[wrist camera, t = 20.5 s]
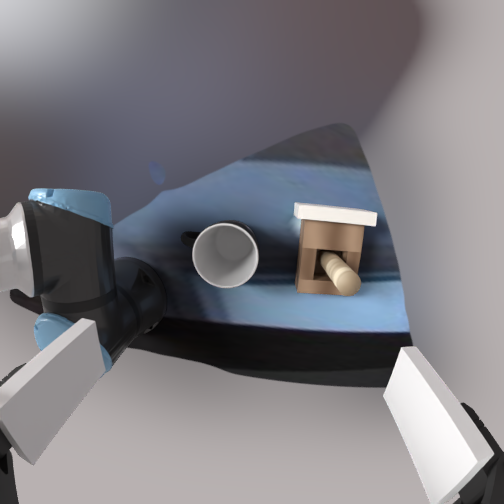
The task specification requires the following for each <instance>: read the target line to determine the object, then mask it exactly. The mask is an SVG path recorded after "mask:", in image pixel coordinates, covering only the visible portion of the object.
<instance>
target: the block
mask: <svg viewBox="0 0 504 504" xmlns="http://www.w3.org/2000/svg"><path fill="white" fill-rule="evenodd" d="M363 234H364V225H359V224H350V223H340V222H330V221H319V220H309V219H301V230H300V240H299V250H298V259H297V269H296V278H295V285H296V289H297V293H313V294H331V295H342V294H341V293H340V292H339V290H338V289H337V287H336V286H335V284H334V283H333V281H332V280H331V279H330V277H329V276H328V274H327V273H326V271H325V270H324V268H323V267H322V266H321V264H320V263H319V261H318V258H317V257H318V253H319V252H320V250H322V249H326V250H332V251H334V252H335V253H336V254H337V255H338V256H339V257H340V258H341V259H342V260H343V261H344V262H345V263H346V264H347V265H348V266H349V267H350V268H351V269H352V270H353V271H354V272H355V273H356V274H358V268H359V262H360V256H361V249H362V241H363ZM352 296H354V295H352Z"/></svg>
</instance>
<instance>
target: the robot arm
mask: <svg viewBox="0 0 504 504" xmlns="http://www.w3.org/2000/svg"><path fill="white" fill-rule="evenodd" d="M29 200H30V201H28V202H19V203H17V204H16V205H15V207H14V208H13V209H12V211H11V212H10V214H9V215H8V216H7V217H4V218H0V292H3V291H7V290H11V289H15V288H16V289H19V290H21V291H22V292H24V293H25V294H26V295H28V296H29V297H34V296H38V295H41V300H42V305H43V309H44V313H43V314H41V315H40V316H39V317H38V319H37V321H36V324H35V326H34V334H35V339H36V342H37V344H38V346H39V348H40V350H41V352H40V353H39V354H37V355H36V356H35V357H34V358H33V359H32V360H30V361H29V362H28V363H25V364H23V365H21V366H19V367H16V368H15V369H14V370H13V371H11V372H10V373H9V374H8V376H6V377H4V378H3V379H2V382H1V381H0V504H19V502H18V497H17V491H16V485H15V478H14V470H13V459H12V454H11V452H10V450H9V449H10V448H11V447H13V448H14V449H15V451H16V452H17V453H18V455H19V456H20V457H22V458H23V459H24V460H26V461H27V462H29V463H30V464H32V465H34V464H35V462H36V461H37V459H38V458H39V457H40V456H41V454H42V453H43V451H44V450H45V449H46V447H47V446H48V445H49V443H50V442H51V441H52V439H53V438H54V437H55V435H56V434H57V433H58V431H59V430H60V428H61V427H62V426H63V425H64V423H65V422H66V421H67V419H68V418H69V417H70V415H71V414H72V413H73V412H74V410H75V409H76V408H77V406H78V405H79V404H80V403H81V401H82V400H83V399H84V397H85V396H86V395H87V393H88V392H89V391H90V390H91V389H92V387H93V386H94V385H95V384H96V382H97V381H98V380H99V379H100V378H101V377H102V376H103V375H104V374H105V373H106V372H108V371H109V370H110V369H111V368H112V366H113V365H114V363H115V362H116V361H117V359H118V358H119V357H120V355H121V354H122V353H123V352H124V350H125V349H126V348H127V347H128V345H129V344H130V343H131V341H132V340H133V339H134V338H135V337H137V336H140V335H142V334H145V333H147V332H149V331H151V330H153V329H154V328H155V327H156V326H157V325H158V324H159V322H160V321H161V320H162V318H163V316H164V314H165V312H166V307H167V296H166V291H165V288H164V285H163V283H162V281H161V279H160V278H159V276H158V275H157V274H156V272H155V271H154V270H153V269H152V268H151V267H150V266H148V265H147V264H146V263H144V262H142V261H140V260H138V259H135V258H131V257H121V258H117V259H115V260H114V250H113V232H112V229H113V224H112V220H111V205H110V201H109V199H108V198H107V196H106V195H104V194H102V193H100V192H93V191H85V190H72V189H44V188H42V189H33V190H31V192H30V195H29ZM383 396H384V399H385V401H386V403H387V405H388V407H389V408H390V411H391V413H392V415H393V418H394V420H395V422H396V424H397V426H398V428H399V431H400V433H401V435H402V437H403V439H404V442H405V444H406V446H407V448H408V451H409V453H410V455H411V458H412V460H413V463H414V465H415V467H416V470H417V472H418V475H419V477H420V479H421V482H422V485H423V487H424V490H425V492H426V495H427V497H428V500H429V503H430V504H443V503H445V502H448V501H449V500H450V499H451V498H453V497H454V496H455V495H456V494H457V493H459V495H460V498H459V499H458V500H457V501H455V502H454V503H453V504H504V452H503V451H502V450H501V448H500V447H499V445H498V444H497V442H496V441H495V439H494V438H493V436H492V435H491V433H490V432H489V431H488V429H487V428H486V427H484V424H483V422H482V421H481V420H479V417H478V415H477V414H476V413H475V411H474V410H473V409H472V408H471V407H469V406H468V405H466V404H465V403H459V401H458V400H457V399H456V397H455V396H454V395H453V393H452V392H451V391H450V389H449V388H448V387H447V385H446V384H445V383H444V381H443V380H442V379H441V378H440V376H439V375H438V374H437V372H436V371H435V370H434V369H433V367H432V366H431V365H430V364H429V363H428V361H427V360H426V358H425V357H424V356H423V355H422V354H421V352H420V351H419V350H418V349H417V347H416V346H414V347H401V350H400V353H399V356H398V359H397V362H396V364H395V367H394V370H393V373H392V375H391V378H390V380H389V383H388V385H387V388H386V390H385V393H384V395H383Z"/></svg>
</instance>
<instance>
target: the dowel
mask: <svg viewBox="0 0 504 504" xmlns="http://www.w3.org/2000/svg"><path fill="white" fill-rule="evenodd" d="M317 258H318V261H319V263H320V264H321V266H322V267H323V268H324V270H325V271H326V273H327V274H328V276H329V277H330V279H331V280H332V281H333V283H334V284H335V286H336V287H337V289H338V290H339V292H340V293H341V294H342V295H344V296H352V295H354V294H356V293H357V292H358V291H359V289H360V287H361V280H360V278H359V276H358V275H357V274H356V273H355V272H354V271H353V270H352V269H351V268H350V267H349V266H348V265H347V264H346V263H345V262H344V261H343V260H342V259H341V258H340V257H339V256H338V255H337V254H336V253H335V252H334V251H332V250H326V249H322V250H320V252H319V253H318V257H317Z"/></svg>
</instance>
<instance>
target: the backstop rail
mask: <svg viewBox="0 0 504 504" xmlns="http://www.w3.org/2000/svg"><path fill="white" fill-rule="evenodd" d="M294 215H295V216H296V217H297V218H298V219H309V220H319V221H330V222H340V223H350V224H359V225H368V226H376V219H377V213H375V212H371V211H367V210H363V209H354V208H346V207H337V206H328V205H318V204H308V203H297V202H295V208H294Z"/></svg>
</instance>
